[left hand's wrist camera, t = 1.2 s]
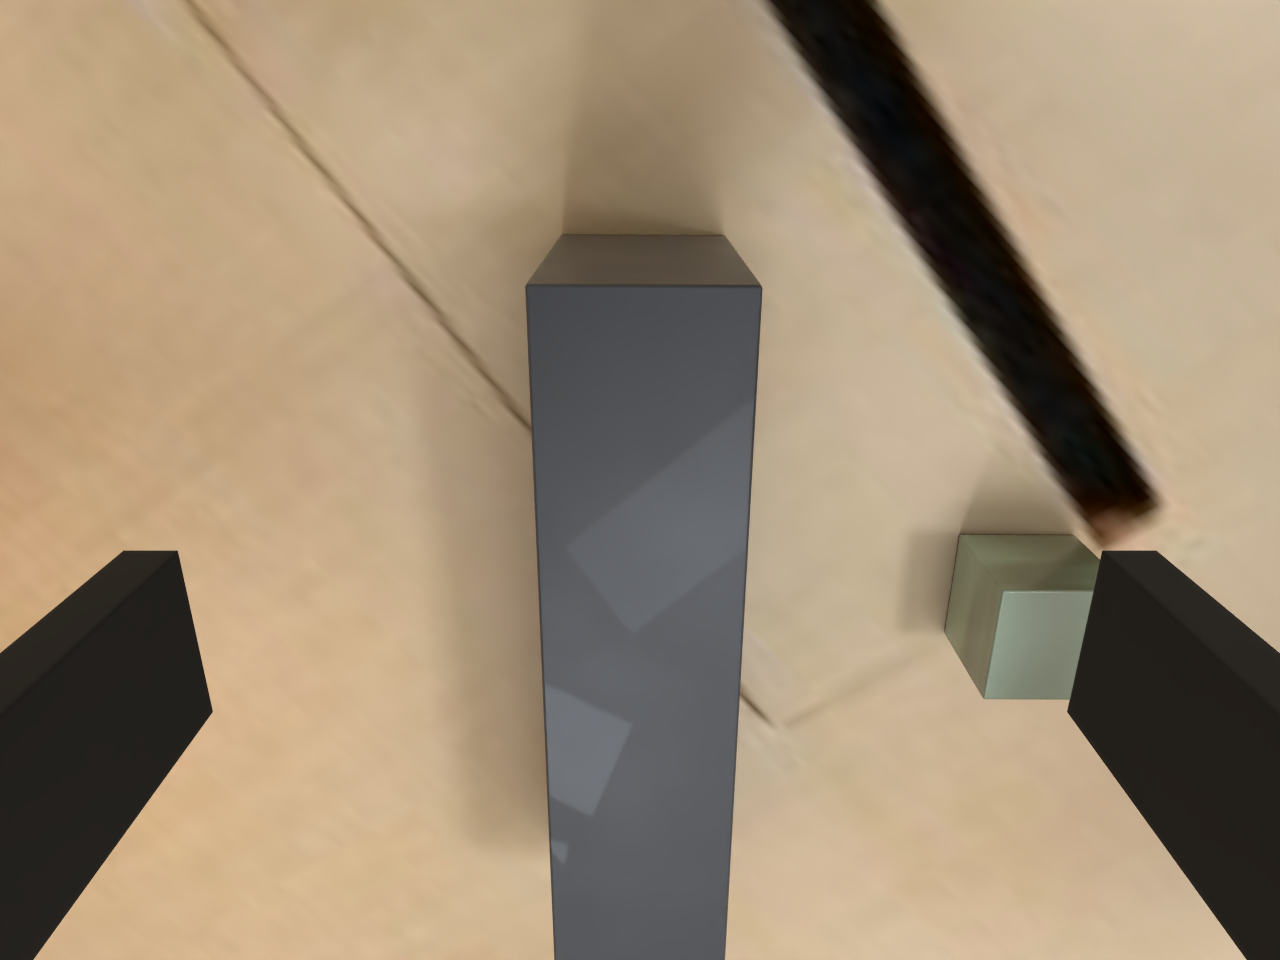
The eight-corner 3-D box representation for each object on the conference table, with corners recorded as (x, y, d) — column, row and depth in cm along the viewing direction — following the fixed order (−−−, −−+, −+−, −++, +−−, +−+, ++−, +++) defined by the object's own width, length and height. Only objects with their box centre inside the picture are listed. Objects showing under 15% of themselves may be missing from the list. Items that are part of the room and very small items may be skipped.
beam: (725, 235, 27) (763, 285, 19) (701, 845, 36) (719, 1063, 28) (561, 234, 27) (525, 284, 19) (578, 844, 36) (558, 1063, 28)
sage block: (1074, 534, 31) (1134, 591, 27) (1053, 633, 32) (1107, 700, 28) (959, 533, 31) (1002, 590, 27) (943, 633, 32) (982, 700, 28)
